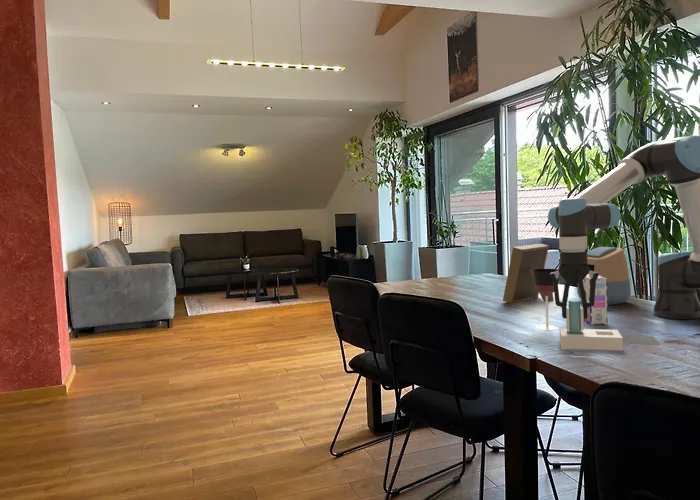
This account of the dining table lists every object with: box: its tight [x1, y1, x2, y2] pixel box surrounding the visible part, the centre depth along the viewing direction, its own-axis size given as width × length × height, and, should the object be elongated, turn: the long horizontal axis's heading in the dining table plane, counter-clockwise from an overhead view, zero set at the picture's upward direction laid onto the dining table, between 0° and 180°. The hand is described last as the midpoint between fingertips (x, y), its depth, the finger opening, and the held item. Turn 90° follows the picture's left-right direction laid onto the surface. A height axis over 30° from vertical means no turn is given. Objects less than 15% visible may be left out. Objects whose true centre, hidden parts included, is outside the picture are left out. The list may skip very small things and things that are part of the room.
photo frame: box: [502, 243, 555, 305], centre depth 231 cm, size 15×22×25 cm
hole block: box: [559, 328, 624, 351], centre depth 154 cm, size 16×10×4 cm, turn 71°
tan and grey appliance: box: [576, 246, 632, 306], centre depth 221 cm, size 17×17×23 cm
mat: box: [621, 335, 661, 346], centre depth 157 cm, size 10×10×1 cm
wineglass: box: [533, 268, 561, 331], centre depth 180 cm, size 8×9×20 cm
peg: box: [568, 299, 581, 334], centre depth 155 cm, size 3×3×12 cm
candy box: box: [580, 274, 609, 326], centre depth 186 cm, size 14×6×16 cm, turn 168°
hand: (574, 329), depth 155 cm, fingers closed on peg, 3 cm apart
